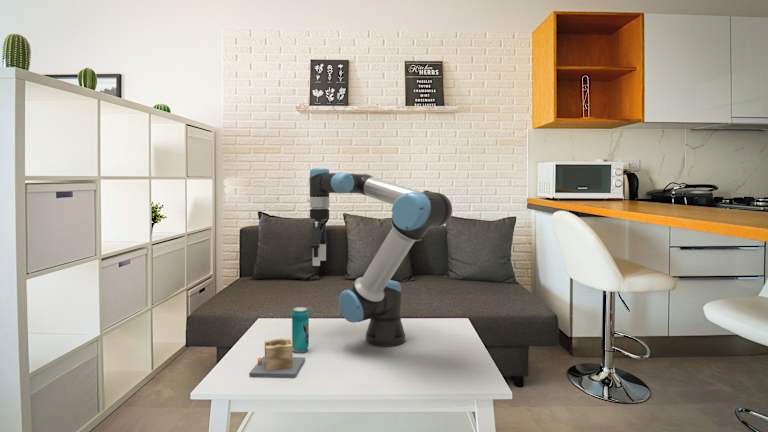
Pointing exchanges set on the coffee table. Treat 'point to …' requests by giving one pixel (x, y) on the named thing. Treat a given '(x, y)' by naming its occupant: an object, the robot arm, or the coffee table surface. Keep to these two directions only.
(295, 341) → the beverage can
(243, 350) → the coffee table surface
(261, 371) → the post base
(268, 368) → the wooden square frame
